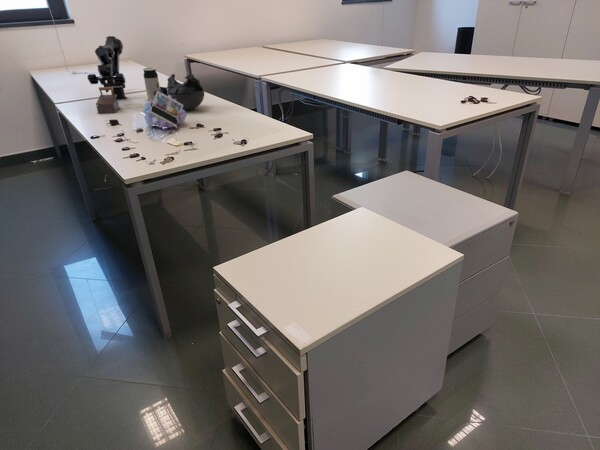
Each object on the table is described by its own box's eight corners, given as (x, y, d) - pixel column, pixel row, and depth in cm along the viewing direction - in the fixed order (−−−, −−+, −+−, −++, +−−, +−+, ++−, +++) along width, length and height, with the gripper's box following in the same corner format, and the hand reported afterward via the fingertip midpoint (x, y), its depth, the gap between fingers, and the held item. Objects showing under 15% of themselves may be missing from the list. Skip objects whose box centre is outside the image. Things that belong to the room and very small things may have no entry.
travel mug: (145, 100, 253) (139, 69, 244) (153, 97, 259) (148, 67, 250) (155, 101, 250) (150, 70, 241) (164, 98, 256) (159, 67, 247)
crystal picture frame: (166, 107, 220) (147, 81, 205) (199, 110, 211) (182, 82, 197) (147, 136, 211) (126, 111, 196) (181, 140, 203) (162, 114, 188)
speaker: (167, 102, 246) (163, 85, 240) (171, 105, 242) (167, 87, 236) (155, 106, 243) (150, 88, 237) (159, 108, 239) (154, 90, 233)
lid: (100, 95, 233) (97, 86, 230) (117, 95, 235) (114, 85, 231) (96, 104, 225) (93, 94, 221) (113, 104, 226) (110, 94, 222)
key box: (103, 108, 237) (101, 99, 234) (119, 107, 238) (117, 99, 236) (98, 113, 227) (96, 105, 225) (115, 112, 228) (113, 104, 226)
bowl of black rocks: (213, 109, 235) (209, 74, 225) (183, 116, 222) (177, 80, 213) (192, 103, 246) (188, 70, 237) (162, 109, 234) (157, 74, 224)
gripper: (83, 58, 226) (83, 84, 222) (119, 58, 229) (120, 82, 225) (91, 71, 236) (91, 95, 233) (125, 70, 239) (125, 94, 235)
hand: (106, 91), depth 231 cm, fingers closed, pressing on lid
